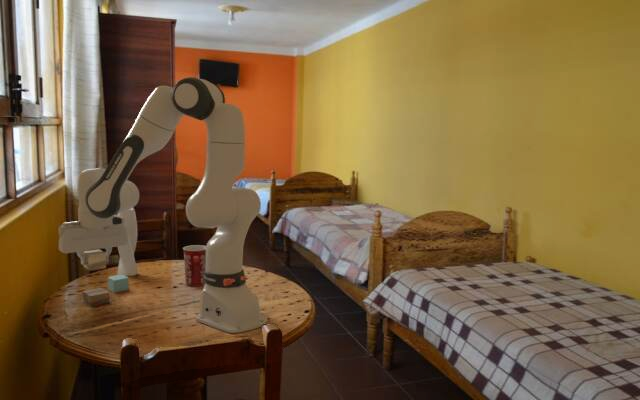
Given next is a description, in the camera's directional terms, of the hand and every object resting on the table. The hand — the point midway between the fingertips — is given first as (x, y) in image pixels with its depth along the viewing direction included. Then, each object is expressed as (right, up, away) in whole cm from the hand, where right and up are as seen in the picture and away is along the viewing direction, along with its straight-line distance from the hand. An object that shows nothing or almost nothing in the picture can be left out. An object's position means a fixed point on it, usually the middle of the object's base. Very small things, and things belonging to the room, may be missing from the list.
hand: (94, 262), depth 158 cm
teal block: (+2, -12, +14) cm, 18 cm away
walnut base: (0, -12, +2) cm, 13 cm away
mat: (0, -13, +2) cm, 13 cm away
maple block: (0, -2, 0) cm, 2 cm away
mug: (+26, -11, +23) cm, 37 cm away
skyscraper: (-2, -9, +32) cm, 33 cm away
